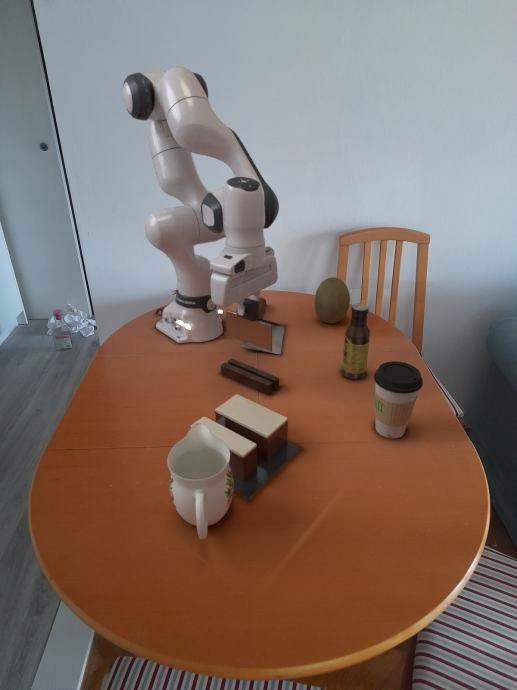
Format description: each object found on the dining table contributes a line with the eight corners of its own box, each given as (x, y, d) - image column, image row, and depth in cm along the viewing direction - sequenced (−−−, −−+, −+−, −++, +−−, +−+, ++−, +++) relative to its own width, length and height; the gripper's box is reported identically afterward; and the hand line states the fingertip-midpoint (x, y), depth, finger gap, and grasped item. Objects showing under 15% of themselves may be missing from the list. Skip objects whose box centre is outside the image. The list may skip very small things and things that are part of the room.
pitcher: (170, 565, 71) (159, 505, 64) (176, 480, 86) (168, 425, 80) (239, 558, 72) (235, 498, 65) (232, 475, 87) (229, 420, 81)
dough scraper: (224, 336, 114) (222, 295, 108) (231, 333, 115) (228, 292, 110) (268, 353, 106) (268, 309, 100) (274, 349, 108) (274, 306, 102)
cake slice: (192, 450, 93) (190, 425, 90) (206, 440, 95) (204, 415, 92) (244, 481, 85) (243, 455, 82) (257, 469, 88) (256, 444, 85)
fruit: (314, 312, 152) (317, 270, 145) (348, 315, 150) (352, 272, 143) (311, 327, 142) (313, 283, 135) (347, 330, 140) (351, 285, 133)
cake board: (175, 453, 93) (171, 426, 89) (229, 413, 104) (228, 388, 101) (249, 500, 82) (248, 471, 78) (300, 449, 93) (301, 422, 90)
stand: (221, 374, 119) (220, 364, 118) (232, 367, 122) (231, 357, 121) (268, 395, 110) (268, 385, 109) (279, 387, 113) (279, 377, 112)
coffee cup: (382, 409, 105) (390, 354, 97) (421, 428, 99) (433, 371, 91) (358, 429, 99) (365, 372, 92) (398, 450, 93) (408, 391, 85)
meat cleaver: (280, 354, 128) (280, 342, 126) (241, 352, 129) (241, 340, 127) (287, 307, 157) (288, 296, 155) (255, 306, 158) (255, 295, 156)
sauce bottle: (344, 366, 122) (350, 299, 112) (367, 370, 120) (375, 302, 110) (338, 378, 117) (345, 309, 107) (362, 383, 115) (371, 312, 105)
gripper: (263, 242, 109) (263, 294, 115) (204, 264, 95) (208, 322, 101) (284, 246, 105) (283, 300, 112) (226, 270, 91) (229, 330, 98)
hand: (247, 311), depth 107 cm, fingers closed on dough scraper, 2 cm apart
